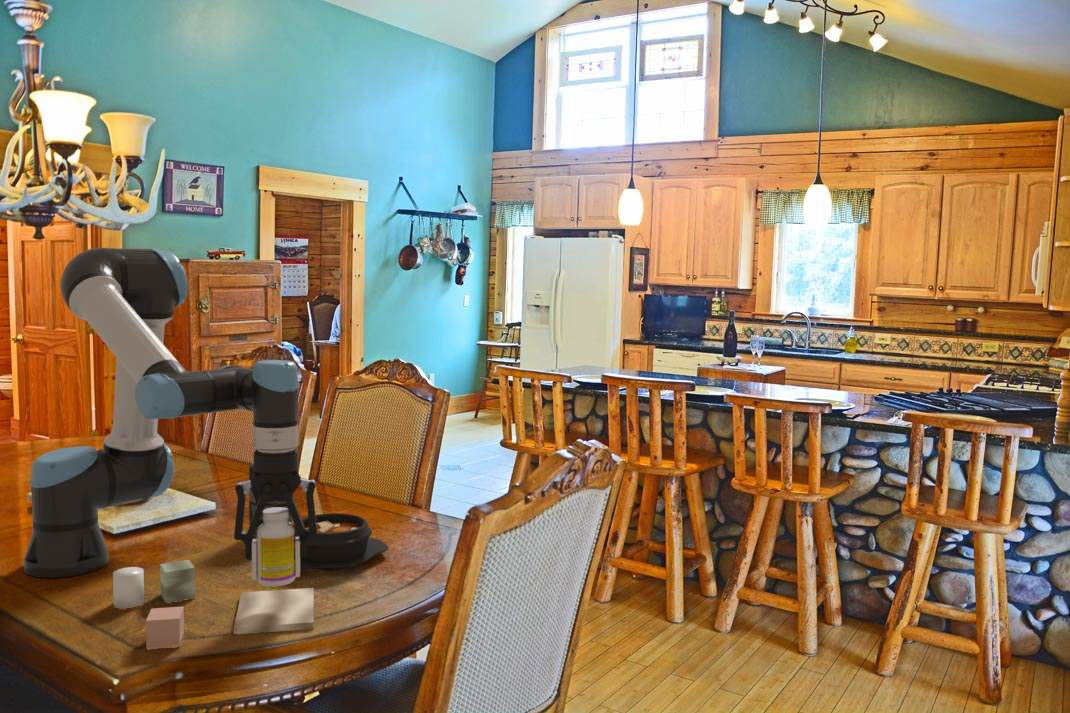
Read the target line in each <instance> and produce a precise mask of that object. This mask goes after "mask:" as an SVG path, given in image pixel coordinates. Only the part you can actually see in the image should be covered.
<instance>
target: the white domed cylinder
mask: <svg viewBox="0 0 1070 713" xmlns="http://www.w3.org/2000/svg"><path fill="white" fill-rule="evenodd" d="M144 572H145V570H144V568H143V567H139V566H128V567H122V568H118V569H117V570H114V571H113V573H112V584H113V586H112V589H113V590H112V592H113V608H115V607H116V608H115V609H117V608H123V609H122V610H125V609H124V608H132V607H136V606H139V605H141V604H142V605H144V604H145V585H144V583H145V579H144V576H145V575H144ZM142 605H141V606H142ZM139 607H140V606H139ZM136 608H137V607H136ZM132 609H133V608H132Z"/></svg>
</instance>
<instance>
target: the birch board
mask: <svg viewBox="0 0 1070 713" xmlns="http://www.w3.org/2000/svg"><path fill="white" fill-rule="evenodd" d="M314 590H315V589H314V587H306V588H291V589H290V588H288V589H278V590H277V589H275V590H260V591H243V592H241V594H240V598H239V602H238V605H237V606H238V607H237V612H236V616H235V620H234V625H233V635H234V634H236V635H246V634H247V635H249V633H250V634H260V632H261V634H262V632H263V633H273V632H288V631H289V632H291V631H301V630H303V631H305V630H314V626H315V625H314V616H315V615H314V614H315V612H314V607H315V606H314V605H315V604H314V603H315V602H314V599H315V598H314V595H315V592H314ZM290 630H291V631H290Z"/></svg>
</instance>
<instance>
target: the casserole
mask: <svg viewBox="0 0 1070 713" xmlns="http://www.w3.org/2000/svg"><path fill="white" fill-rule="evenodd" d="M315 515H316V524H317V535H316V536H312V537H309V538H308V539H307V555H306V557H300V572H303V571H313V570H322V571H331V570H333V571H334V570H341V569H346V568H349V567H352V566H356V565H360V564H362V563H364V562H367V561H369V560H370V559H373V558H374V557H375V556H378V555H380V554H382V553H385V552H386V551H387V550H388V549H389V546H388V545H387V543H385V542H384V541H383V540H381V539H378V538H374V537H371V536H372V534H373V530H372V528H371V527H370V526H369V523H368V521H367V519H366V518H365V517H363V516H359V515H356V514H350V513H337V512H336V513H332V512H331V513H321V514H315ZM301 519H302V521H303V524H304V527H305V529H308V528H309V519H308V516H306V517H303V518H301ZM293 525H294V524H293ZM294 526H295V525H294ZM296 537H299V535H298V533H297V530H296V527H295V541H296Z"/></svg>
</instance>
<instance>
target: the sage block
mask: <svg viewBox="0 0 1070 713" xmlns="http://www.w3.org/2000/svg"><path fill="white" fill-rule="evenodd" d="M159 566H160V568H159V570H160V595H162V596H161V597H163V598H162V600H163V601H164V600H165V601H164V602H166V603H168V602H174V601H180V600H184V599H191V600H193V599H192V598H195V599H196V576H195V575H196V570H195V569H196V568H195V566H194V565H193V563H192V562H191V561H190V559H184V560H178V561H172V562H165V563H160V564H159ZM180 602H181V601H180ZM166 603H165V604H166ZM174 603H175V602H174Z"/></svg>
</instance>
